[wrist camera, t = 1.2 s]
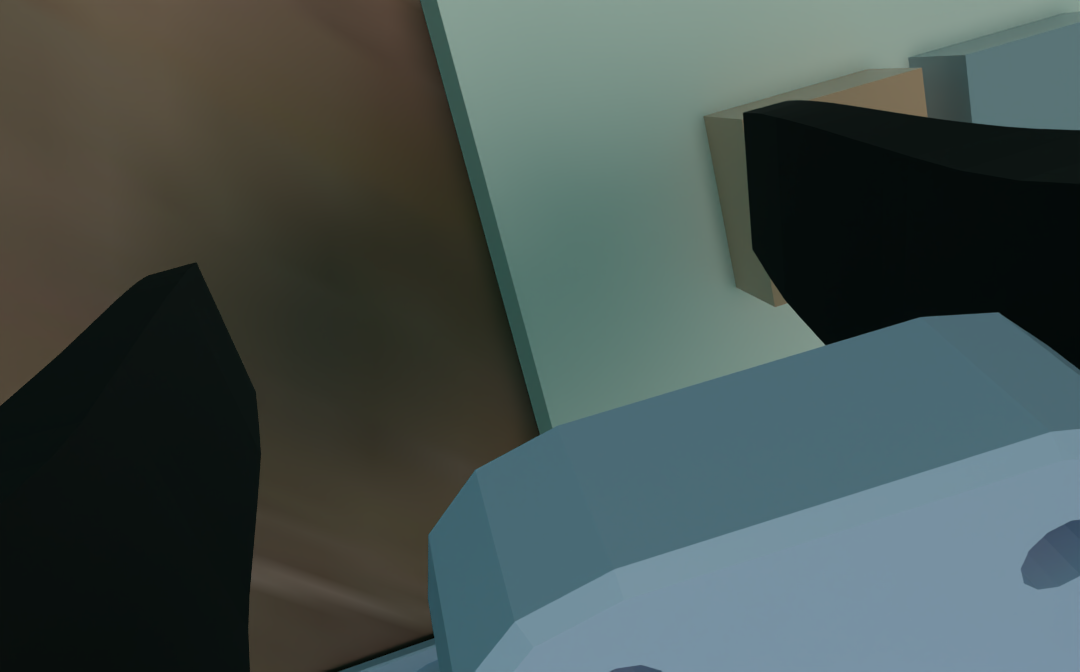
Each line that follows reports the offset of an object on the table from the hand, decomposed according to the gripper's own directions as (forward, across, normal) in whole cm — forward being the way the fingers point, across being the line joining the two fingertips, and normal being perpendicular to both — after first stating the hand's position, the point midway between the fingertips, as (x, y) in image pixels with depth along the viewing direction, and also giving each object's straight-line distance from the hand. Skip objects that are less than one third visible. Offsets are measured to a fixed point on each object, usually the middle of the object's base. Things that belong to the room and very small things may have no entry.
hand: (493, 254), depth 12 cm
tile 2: (+8, -13, +4) cm, 15 cm away
